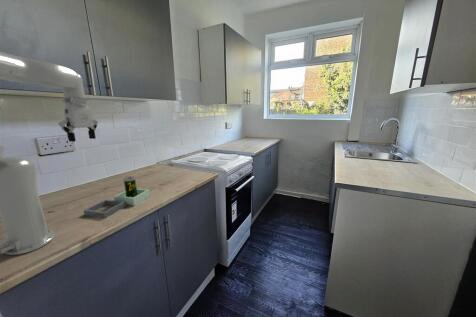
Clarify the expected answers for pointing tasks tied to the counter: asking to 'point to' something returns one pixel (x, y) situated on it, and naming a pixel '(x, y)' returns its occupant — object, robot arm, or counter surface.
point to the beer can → (130, 186)
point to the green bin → (141, 196)
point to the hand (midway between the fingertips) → (83, 139)
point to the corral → (117, 206)
